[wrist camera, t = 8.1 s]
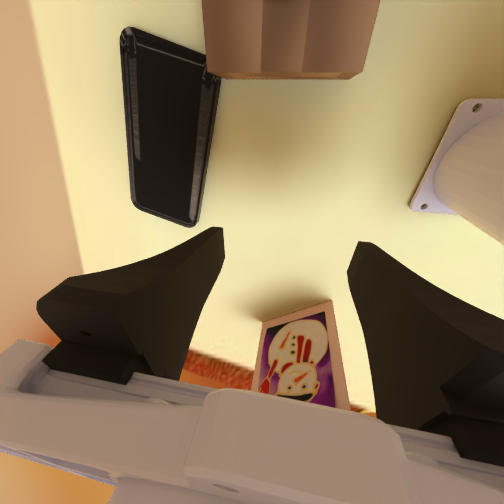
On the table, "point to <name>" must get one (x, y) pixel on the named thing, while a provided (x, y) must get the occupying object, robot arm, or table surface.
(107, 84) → the table surface
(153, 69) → the phone
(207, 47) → the box
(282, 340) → the greeting card
